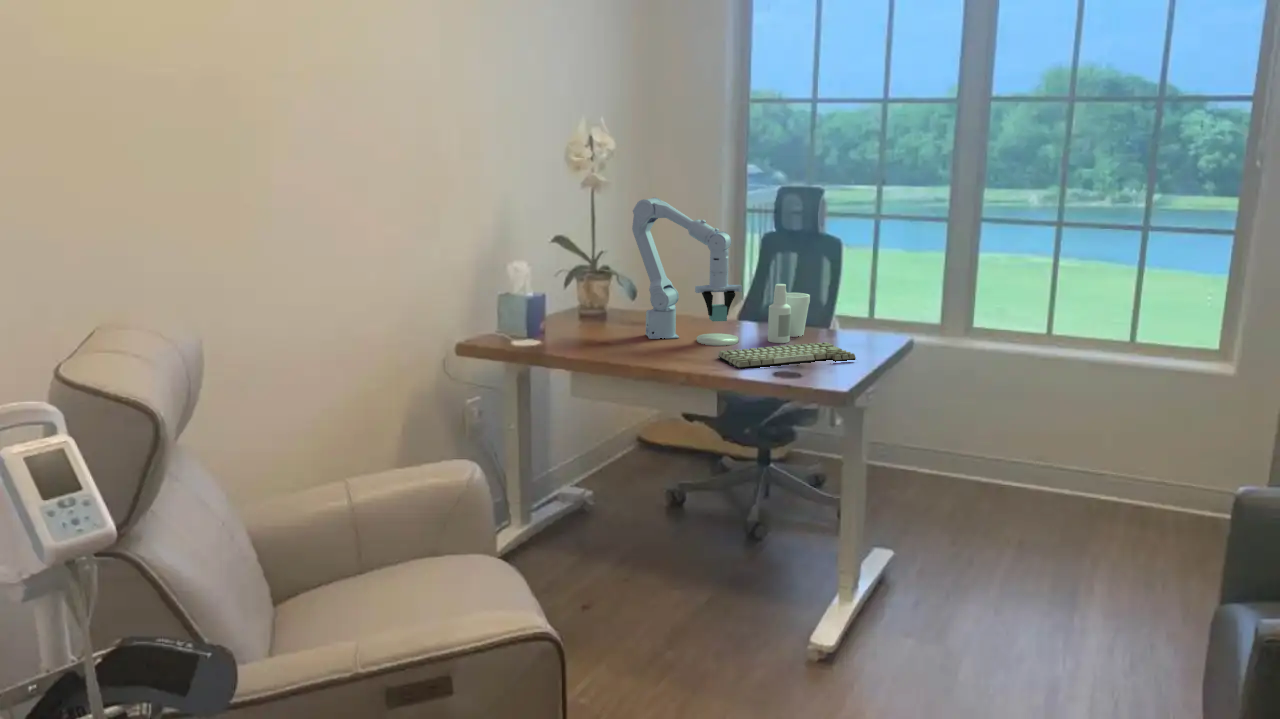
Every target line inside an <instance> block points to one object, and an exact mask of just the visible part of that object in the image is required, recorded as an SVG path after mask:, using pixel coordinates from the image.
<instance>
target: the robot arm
mask: <svg viewBox="0 0 1280 719" xmlns="http://www.w3.org/2000/svg"><path fill="white" fill-rule="evenodd" d="M632 214H633V220H632V227H631V231H632V234H633V236H634V239H635V242H636V245H637V248H638V250H639V253H640V256H641V258H642V262H643V264H644V267H645V270H646V273H647V275H648V279H649V282H650V283H649V288H648V289H649V290H648V291H649V294H650V299H649V302H650V305H651V306H652V309H646V312H645V333H644V334H645V336H646V337H648V339H649V340H657V339H658V340H660V338H662V339H661V340H663V339H664V338H665V339H679V338H680V336H679V335H678V334H677V331H676V327H677V326H676V323H677V322H676V319H677V318H676V317H677V316H676V315H677V314H676V313H677V306H676V304H677V303H678V301H679V299H680V298H679V295H680V294H679V292H678V290H677V288H676V287H674V285H673V283H672V281H671V280H670V279H669V278H668V277H667V274H666V272H665V269H664V266H663V263H662V261H661V257H660V254H659V252H658V249H657V247H656V246H657V245H656V243H655V240H654V237H653V235H652V232H651V230H652V228H653V226H654V224H655V222H656V221H657V220H658V219H667V220H669V221H671V222H673V223H675V224H676V225H678V226H681V227H682V228H684V229H685V230H687V231H688V234H689V236H690V237H692V238H693V239H695V240H697V241H698V242H700V243H702V244H703V245H705V246H707V248H708V249H709V252H710V254H709V255H710V256H709V284H706V285H695V286H694V293H696V294H701V295H702V298H703V299H704V302H705V305H706V308H707V314H708V316H712V305H713V298H714V295H713V293H723V297H724V298H723V299H724V301H723V302H724V305H725V306H727V316H728V315H729V310H730V307H731V305H732V303H733V301H734V299H735V297H736V293H737V292H738V293H741V292H743V285H741V284H729V253H730V252H729V248H730V247H731V245H732V238H731V236H730V235H729V234H728V232H726V231H720V229H719V228H718V227H716V228H714V227H713V226H712V225H710V224H709V223H707V221H706V220H705V219H695V220H693V219H692V218H691V217H689V216H687V215H686V214H684V213H683V212H682V211H680V210H679V209H677V208H675V207H674V206H672V205H671V204H669V203H668V202H666V201H665V200H661V199H660V198H659V197H651V198H647V199H646V198H644V199H641V200H639V201H637V203H636V204H635V206H634V208H633V209H632ZM665 339H664V340H665Z"/></svg>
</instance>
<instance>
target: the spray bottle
mask: <svg viewBox="0 0 1280 719" xmlns="http://www.w3.org/2000/svg"><path fill="white" fill-rule="evenodd" d="M786 287H787V284H785V283H776V284H775V285H774V290H773V301H772V302H773V303H772V304H769V306H768V321H767V322H768V323H767V326H768V327H767V341H768V342H769V343H771V344H786V343H789V342H790V341H791V339H790V338H791V336H790V317H791V307H790V306H789V305H788V304H787V298H786V296H787V293H788V291H787V288H786Z"/></svg>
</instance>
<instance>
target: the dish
mask: <svg viewBox="0 0 1280 719" xmlns="http://www.w3.org/2000/svg"><path fill="white" fill-rule="evenodd" d="M696 342H697V343H699V344H700V343H701V345H704V344H705V345H706V346H712V347H717V346H718V347H725V346H726V345H727V346H733V345H737V344H738V343H739V337H738V336H737V335H734V334H729V333H721V332H720V333H702V334H699V335H697V336H696ZM727 346H726V347H727Z"/></svg>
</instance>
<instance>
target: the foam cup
mask: <svg viewBox="0 0 1280 719" xmlns="http://www.w3.org/2000/svg"><path fill="white" fill-rule="evenodd" d="M786 298H787V304H788V305H789V306H790V307H791V317H790V338H791V337H793V338H795V337H796V338H797V337H798V336H799V337H803V336H804V334H805V329H806V324H807V323H806V322H807V316H808V312H809V305H810V303H811V302H810V301H811V294H808V293H803V292H787V296H786ZM802 335H803V336H802Z"/></svg>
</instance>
